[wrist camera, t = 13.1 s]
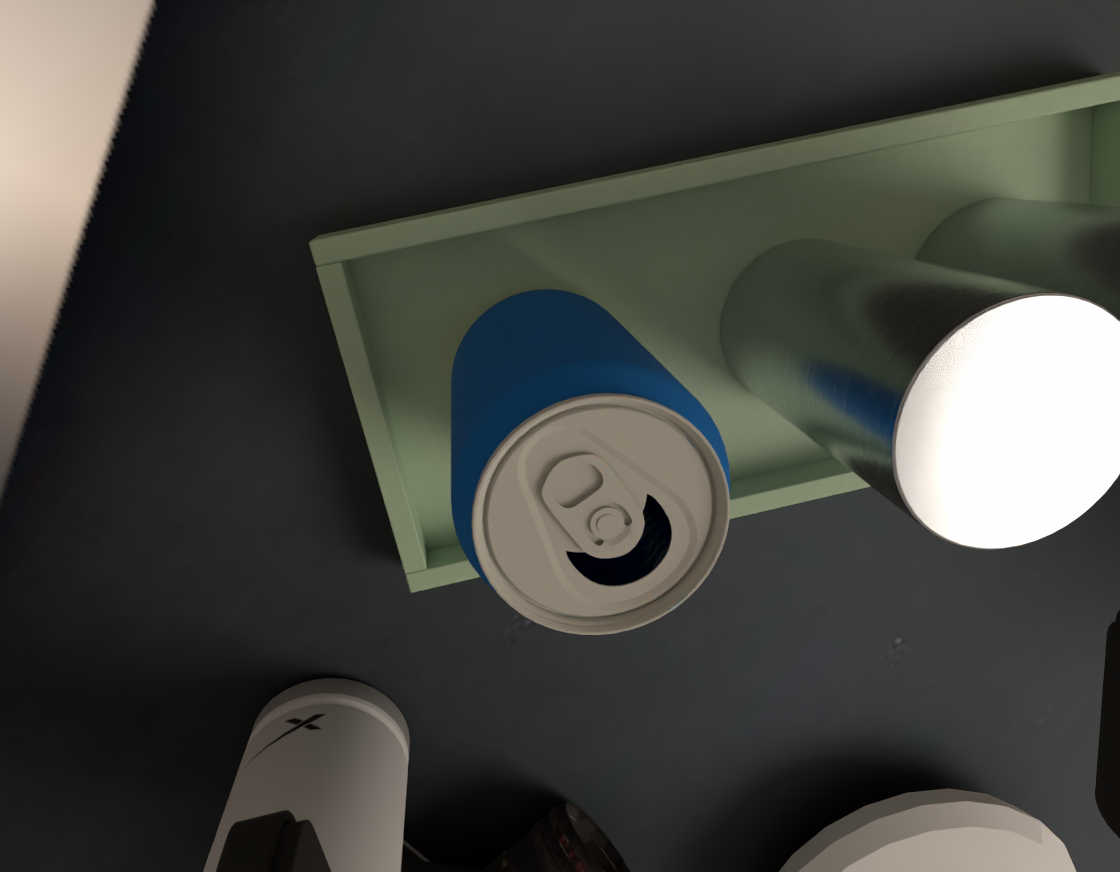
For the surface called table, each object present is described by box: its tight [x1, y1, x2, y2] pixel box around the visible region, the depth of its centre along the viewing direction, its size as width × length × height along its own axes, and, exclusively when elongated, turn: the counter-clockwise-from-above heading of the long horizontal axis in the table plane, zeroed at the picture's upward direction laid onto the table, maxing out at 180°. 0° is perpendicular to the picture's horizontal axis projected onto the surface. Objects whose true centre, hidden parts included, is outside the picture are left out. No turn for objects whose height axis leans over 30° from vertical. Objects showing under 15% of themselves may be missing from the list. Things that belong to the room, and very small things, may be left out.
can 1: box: [915, 198, 1120, 320], centre depth 24 cm, size 6×6×12 cm
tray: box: [309, 72, 1120, 593], centre depth 28 cm, size 13×28×2 cm, turn 101°
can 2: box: [720, 238, 1120, 550], centre depth 23 cm, size 6×6×12 cm
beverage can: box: [451, 289, 730, 635], centre depth 23 cm, size 6×6×12 cm
